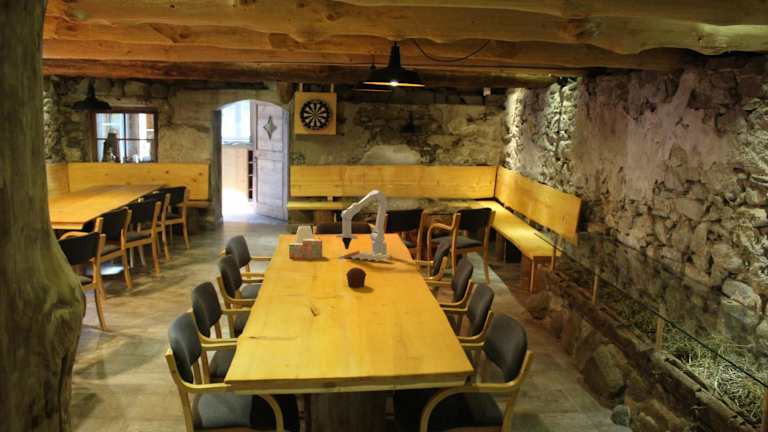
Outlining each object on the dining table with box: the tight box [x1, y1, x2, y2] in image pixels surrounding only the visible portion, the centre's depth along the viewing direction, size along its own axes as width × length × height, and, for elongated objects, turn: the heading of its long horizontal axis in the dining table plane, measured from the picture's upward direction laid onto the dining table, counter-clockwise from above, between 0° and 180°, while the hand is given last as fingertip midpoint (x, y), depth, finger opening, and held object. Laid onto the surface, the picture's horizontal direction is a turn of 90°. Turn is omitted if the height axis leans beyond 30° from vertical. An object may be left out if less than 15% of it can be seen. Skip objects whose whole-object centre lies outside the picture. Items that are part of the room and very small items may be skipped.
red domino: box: [343, 250, 361, 258], centre depth 400 cm, size 2×5×9 cm
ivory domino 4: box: [374, 253, 391, 263], centre depth 392 cm, size 2×5×9 cm
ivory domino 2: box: [359, 251, 375, 260], centre depth 396 cm, size 2×5×9 cm
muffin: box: [345, 267, 367, 289], centre depth 338 cm, size 12×11×10 cm
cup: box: [294, 225, 315, 243], centre depth 440 cm, size 13×13×14 cm
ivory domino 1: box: [351, 250, 368, 259], centre depth 398 cm, size 2×5×9 cm
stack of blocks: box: [288, 238, 323, 260], centre depth 404 cm, size 21×6×12 cm, turn 86°
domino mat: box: [337, 255, 379, 263], centre depth 399 cm, size 28×8×1 cm, turn 67°
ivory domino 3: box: [367, 253, 383, 261], centre depth 394 cm, size 2×5×9 cm
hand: (346, 249), depth 401 cm, fingers closed
